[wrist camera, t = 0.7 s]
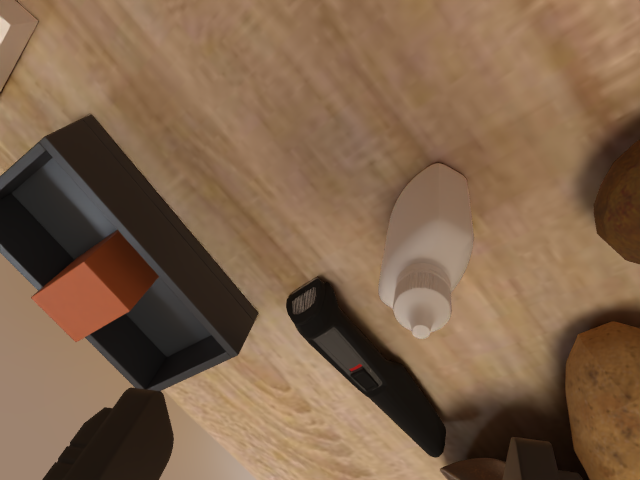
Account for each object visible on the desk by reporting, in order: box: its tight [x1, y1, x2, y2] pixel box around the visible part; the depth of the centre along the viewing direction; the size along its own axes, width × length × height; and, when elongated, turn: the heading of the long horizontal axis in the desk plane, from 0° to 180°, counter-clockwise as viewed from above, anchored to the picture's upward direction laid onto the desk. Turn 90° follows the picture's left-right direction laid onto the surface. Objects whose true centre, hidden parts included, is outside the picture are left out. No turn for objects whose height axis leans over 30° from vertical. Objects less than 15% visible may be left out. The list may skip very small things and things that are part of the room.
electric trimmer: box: [286, 276, 446, 457], centre depth 36 cm, size 4×16×3 cm, turn 41°
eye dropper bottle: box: [379, 163, 474, 339], centre depth 26 cm, size 4×6×12 cm
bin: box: [0, 115, 258, 391], centre depth 35 cm, size 9×17×4 cm, turn 36°
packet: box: [31, 230, 159, 342], centre depth 34 cm, size 6×4×5 cm
